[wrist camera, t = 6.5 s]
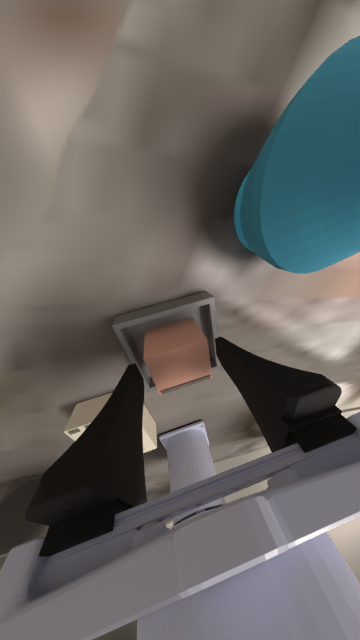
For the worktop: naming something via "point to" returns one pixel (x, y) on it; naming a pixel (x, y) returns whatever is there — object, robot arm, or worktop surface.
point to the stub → (177, 355)
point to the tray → (139, 321)
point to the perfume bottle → (308, 174)
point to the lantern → (18, 517)
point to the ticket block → (91, 408)
